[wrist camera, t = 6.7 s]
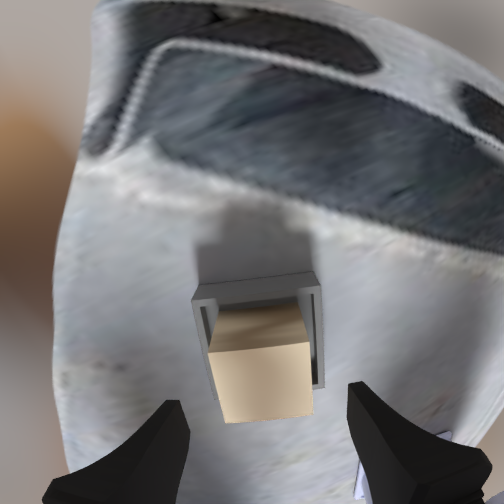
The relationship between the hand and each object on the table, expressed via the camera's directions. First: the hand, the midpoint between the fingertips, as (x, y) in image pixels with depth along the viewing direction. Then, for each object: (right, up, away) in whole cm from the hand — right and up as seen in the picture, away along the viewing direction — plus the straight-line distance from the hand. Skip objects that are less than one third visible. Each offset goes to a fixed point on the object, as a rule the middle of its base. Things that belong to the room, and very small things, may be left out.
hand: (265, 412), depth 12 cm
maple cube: (0, +1, +6) cm, 6 cm away
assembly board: (0, +2, +7) cm, 8 cm away
